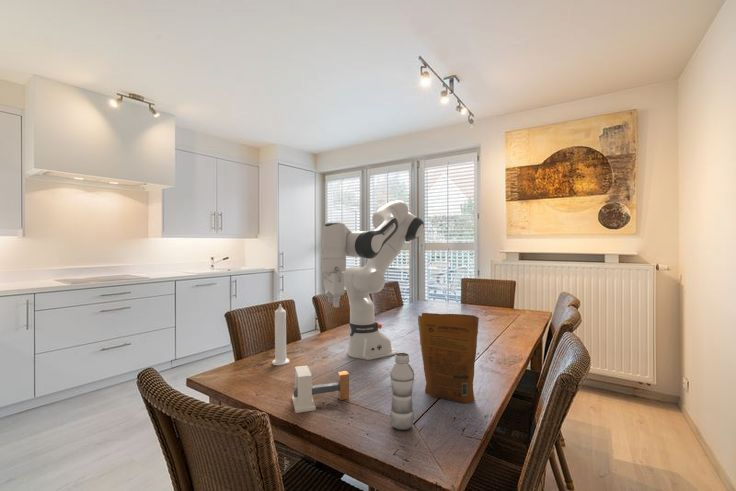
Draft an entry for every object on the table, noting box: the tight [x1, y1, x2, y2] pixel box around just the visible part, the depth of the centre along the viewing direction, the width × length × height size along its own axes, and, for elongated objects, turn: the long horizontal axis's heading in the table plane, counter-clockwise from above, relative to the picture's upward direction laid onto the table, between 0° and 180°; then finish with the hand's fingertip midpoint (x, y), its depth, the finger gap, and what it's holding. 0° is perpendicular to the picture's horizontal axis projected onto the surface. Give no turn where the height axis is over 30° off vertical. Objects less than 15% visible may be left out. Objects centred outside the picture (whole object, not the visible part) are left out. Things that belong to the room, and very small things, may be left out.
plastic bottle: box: [389, 352, 415, 431], centre depth 95 cm, size 6×7×20 cm
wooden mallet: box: [292, 370, 350, 401], centre depth 111 cm, size 18×3×8 cm, turn 108°
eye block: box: [291, 364, 317, 414], centre depth 109 cm, size 6×10×10 cm, turn 18°
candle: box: [271, 303, 290, 366], centre depth 145 cm, size 7×7×25 cm
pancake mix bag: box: [417, 312, 480, 404], centre depth 113 cm, size 7×19×28 cm, turn 63°
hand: (333, 304), depth 125 cm, fingers open, 8 cm apart
